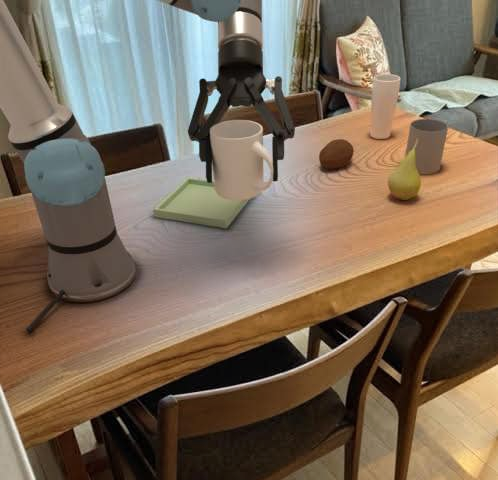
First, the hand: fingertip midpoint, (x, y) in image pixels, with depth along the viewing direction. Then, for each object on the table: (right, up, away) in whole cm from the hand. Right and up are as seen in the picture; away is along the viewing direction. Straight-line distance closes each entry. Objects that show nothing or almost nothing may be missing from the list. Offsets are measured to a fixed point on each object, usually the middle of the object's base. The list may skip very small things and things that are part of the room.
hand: (242, 179), depth 88 cm
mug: (+1, -1, +5) cm, 5 cm away
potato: (+22, +15, +44) cm, 51 cm away
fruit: (+35, +4, +30) cm, 46 cm away
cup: (+43, +14, +41) cm, 61 cm away
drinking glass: (+36, +27, +57) cm, 73 cm away
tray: (-8, +2, +30) cm, 31 cm away
